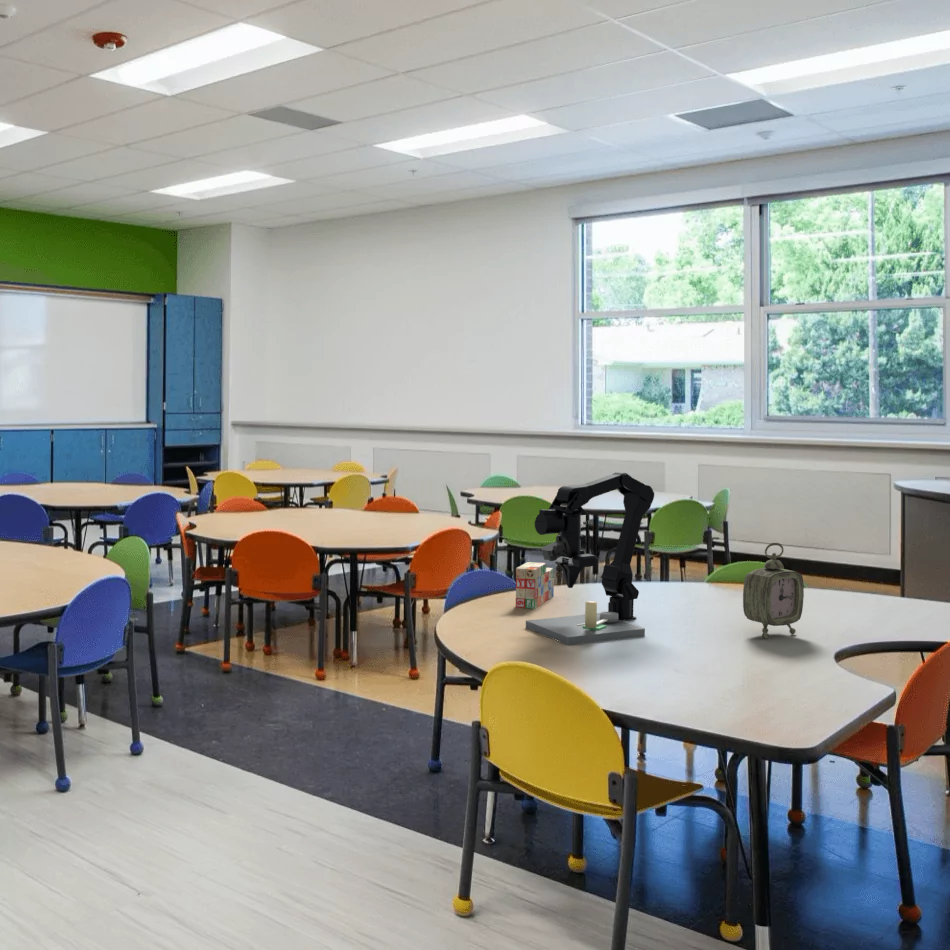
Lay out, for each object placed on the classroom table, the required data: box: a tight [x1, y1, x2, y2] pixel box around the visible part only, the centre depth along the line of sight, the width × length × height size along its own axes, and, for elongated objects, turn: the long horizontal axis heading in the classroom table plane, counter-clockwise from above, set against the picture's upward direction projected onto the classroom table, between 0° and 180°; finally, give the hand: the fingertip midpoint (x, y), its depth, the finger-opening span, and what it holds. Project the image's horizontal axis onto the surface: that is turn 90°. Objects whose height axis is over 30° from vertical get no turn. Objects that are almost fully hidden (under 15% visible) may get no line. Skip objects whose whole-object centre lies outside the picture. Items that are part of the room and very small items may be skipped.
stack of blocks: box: [515, 561, 555, 610], centre depth 318 cm, size 21×6×12 cm, turn 160°
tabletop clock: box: [742, 542, 805, 640], centre depth 274 cm, size 14×9×25 cm, turn 122°
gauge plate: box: [525, 612, 646, 646], centre depth 277 cm, size 24×22×2 cm
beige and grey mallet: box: [584, 600, 618, 628], centre depth 276 cm, size 16×5×7 cm, turn 149°
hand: (570, 587), depth 283 cm, fingers closed
